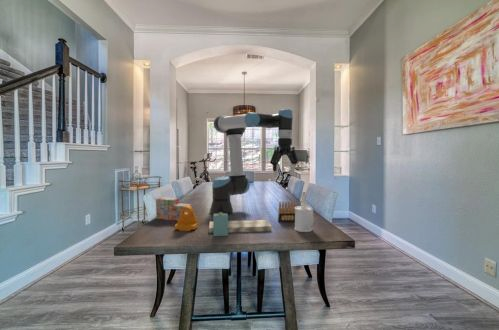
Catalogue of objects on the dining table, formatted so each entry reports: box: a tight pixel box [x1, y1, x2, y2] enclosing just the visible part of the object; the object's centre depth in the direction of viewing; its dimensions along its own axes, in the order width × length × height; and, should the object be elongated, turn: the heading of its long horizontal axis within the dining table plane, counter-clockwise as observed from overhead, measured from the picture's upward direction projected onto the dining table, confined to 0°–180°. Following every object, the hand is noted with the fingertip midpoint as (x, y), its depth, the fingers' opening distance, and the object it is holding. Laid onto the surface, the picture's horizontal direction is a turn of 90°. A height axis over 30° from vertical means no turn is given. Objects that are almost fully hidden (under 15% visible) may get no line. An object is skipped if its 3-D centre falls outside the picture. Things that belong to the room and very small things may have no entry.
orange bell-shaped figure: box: [174, 205, 199, 232], centre depth 136 cm, size 11×7×12 cm, turn 90°
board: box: [208, 219, 272, 234], centre depth 137 cm, size 32×12×2 cm, turn 96°
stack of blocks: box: [155, 196, 192, 222], centre depth 155 cm, size 21×6×12 cm, turn 69°
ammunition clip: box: [277, 201, 297, 223], centre depth 149 cm, size 11×2×12 cm, turn 95°
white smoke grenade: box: [293, 191, 314, 233], centre depth 134 cm, size 10×9×20 cm
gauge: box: [212, 213, 229, 237], centre depth 132 cm, size 7×14×11 cm, turn 6°
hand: (284, 176), depth 144 cm, fingers open, 13 cm apart
